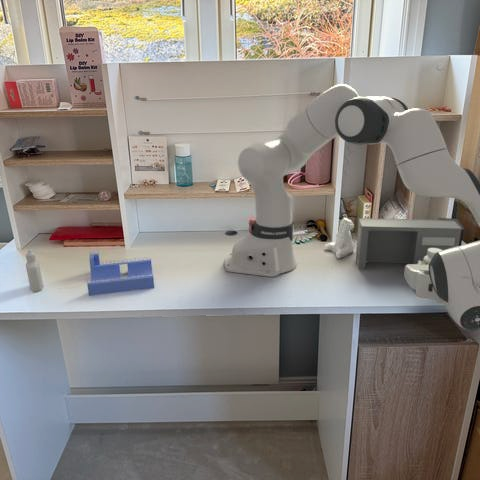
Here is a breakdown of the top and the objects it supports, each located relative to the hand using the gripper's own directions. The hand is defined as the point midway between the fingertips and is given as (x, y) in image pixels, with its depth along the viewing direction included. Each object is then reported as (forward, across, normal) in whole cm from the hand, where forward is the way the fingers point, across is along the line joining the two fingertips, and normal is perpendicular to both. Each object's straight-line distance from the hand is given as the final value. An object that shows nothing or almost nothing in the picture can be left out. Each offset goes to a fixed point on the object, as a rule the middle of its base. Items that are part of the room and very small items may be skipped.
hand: (438, 263), depth 127 cm
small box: (+27, -11, +8) cm, 30 cm away
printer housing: (+15, +5, +8) cm, 18 cm away
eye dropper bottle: (-8, +112, +7) cm, 113 cm away
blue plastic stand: (-1, +90, +8) cm, 90 cm away
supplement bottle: (+3, 0, +8) cm, 8 cm away
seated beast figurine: (+25, +23, +8) cm, 35 cm away
